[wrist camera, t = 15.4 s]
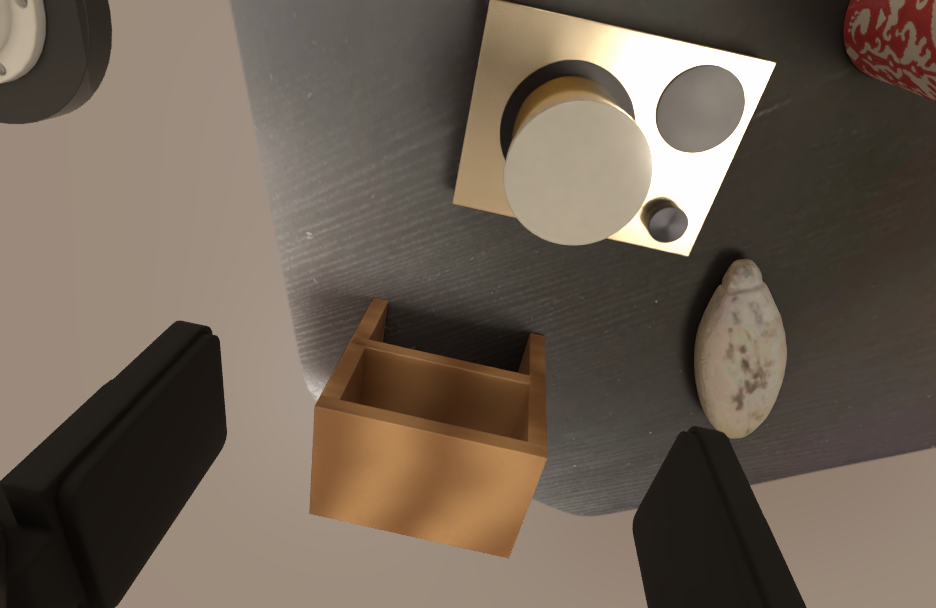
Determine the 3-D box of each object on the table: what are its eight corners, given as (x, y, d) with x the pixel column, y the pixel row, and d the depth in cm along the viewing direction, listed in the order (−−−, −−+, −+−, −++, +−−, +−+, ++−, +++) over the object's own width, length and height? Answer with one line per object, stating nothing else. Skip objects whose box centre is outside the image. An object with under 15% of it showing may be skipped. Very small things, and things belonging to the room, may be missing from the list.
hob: (456, 192, 37) (449, 210, 33) (493, -3, 30) (487, -3, 27) (679, 242, 37) (693, 265, 33) (761, 57, 30) (787, 64, 27)
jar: (501, 175, 33) (489, 229, 25) (526, 62, 30) (523, 85, 22) (603, 197, 33) (623, 259, 25) (640, 88, 30) (677, 119, 22)
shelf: (363, 391, 47) (309, 513, 36) (373, 297, 42) (314, 406, 31) (515, 425, 47) (508, 558, 36) (544, 335, 42) (547, 458, 31)
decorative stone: (780, 245, 36) (802, 267, 33) (771, 415, 43) (787, 445, 40) (686, 259, 37) (699, 281, 34) (692, 422, 44) (703, 452, 42)
